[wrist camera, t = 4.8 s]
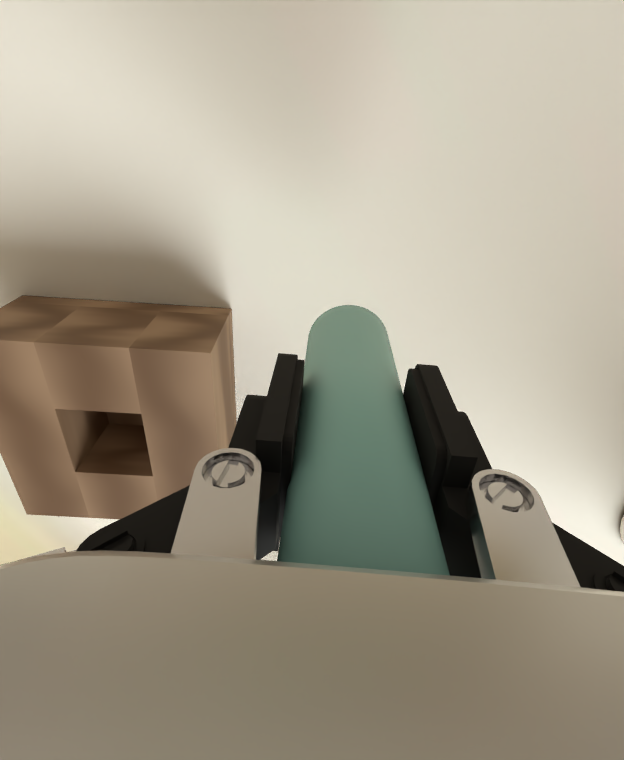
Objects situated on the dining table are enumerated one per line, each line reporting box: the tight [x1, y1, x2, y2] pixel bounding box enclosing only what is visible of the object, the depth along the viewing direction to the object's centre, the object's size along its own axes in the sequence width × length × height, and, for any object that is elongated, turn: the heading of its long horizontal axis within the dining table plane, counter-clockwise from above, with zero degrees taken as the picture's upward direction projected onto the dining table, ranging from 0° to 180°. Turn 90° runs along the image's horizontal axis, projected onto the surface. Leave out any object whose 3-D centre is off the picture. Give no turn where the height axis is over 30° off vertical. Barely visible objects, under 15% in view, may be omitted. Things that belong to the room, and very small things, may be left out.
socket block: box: [0, 296, 236, 519], centre depth 25 cm, size 12×12×6 cm
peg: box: [277, 305, 450, 576], centre depth 11 cm, size 3×3×12 cm
